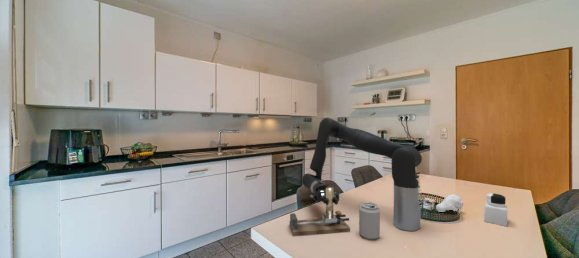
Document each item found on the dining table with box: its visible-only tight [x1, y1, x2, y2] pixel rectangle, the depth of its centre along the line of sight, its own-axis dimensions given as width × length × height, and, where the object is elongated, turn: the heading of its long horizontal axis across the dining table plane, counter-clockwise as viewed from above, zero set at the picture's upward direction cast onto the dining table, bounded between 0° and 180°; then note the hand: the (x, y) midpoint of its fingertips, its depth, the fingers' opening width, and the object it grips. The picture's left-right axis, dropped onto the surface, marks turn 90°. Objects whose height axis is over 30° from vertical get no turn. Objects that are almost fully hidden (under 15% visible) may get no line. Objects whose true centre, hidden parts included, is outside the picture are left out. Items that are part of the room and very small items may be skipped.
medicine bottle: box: [483, 192, 508, 227], centre depth 97 cm, size 7×7×12 cm
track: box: [289, 210, 351, 237], centre depth 91 cm, size 23×10×6 cm, turn 99°
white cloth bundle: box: [435, 193, 464, 214], centre depth 107 cm, size 6×8×12 cm
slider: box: [321, 186, 350, 223], centre depth 92 cm, size 10×4×14 cm, turn 99°
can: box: [358, 201, 381, 241], centre depth 85 cm, size 8×8×12 cm
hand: (331, 202), depth 89 cm, fingers closed on slider, 3 cm apart
